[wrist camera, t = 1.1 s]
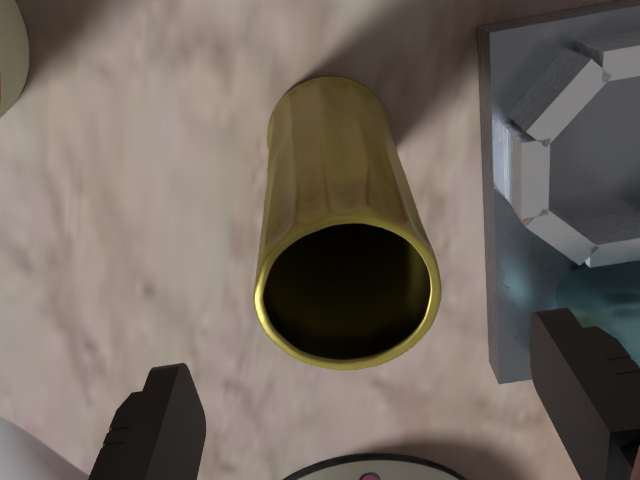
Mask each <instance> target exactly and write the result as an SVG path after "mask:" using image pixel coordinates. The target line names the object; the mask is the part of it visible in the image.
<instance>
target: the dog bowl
mask: <svg viewBox="0 0 640 480" xmlns="http://www.w3.org/2000/svg"><path fill="white" fill-rule="evenodd" d="M284 480H466V479H465V478H464V477H463V476H461V475H460V474H458V473H456V472H455V471H453V470H451V469H449V468H447V467H445V466H443V465H440V464H437V463H434V462H431V461H428V460H425V459H421V458H417V457H412V456H406V455H397V454H359V455H351V456H345V457H340V458H334V459H331V460H327V461H324V462H320V463H317V464H315V465H312V466H310V467H307V468H304V469H302V470H300V471H298V472H296V473H294V474H292V475H291V476H289V477H287V478H286V479H284Z"/></svg>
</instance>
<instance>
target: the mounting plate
mask: <svg viewBox="0 0 640 480" xmlns="http://www.w3.org/2000/svg"><path fill="white" fill-rule="evenodd" d="M477 40H478V68H479V95H480V123H481V150H482V178H483V205H484V233H485V260H486V288H487V316H488V343H489V362H490V365H491V367H492V369H493V372H494V374H495V376H496V379H497V381H498V383H499V384H503V383H510V382H517V381H524V380H531V379H532V375H531V368H530V318H531V314H532V312H536V311H543V310H550V309H556V308H563V307H567V308H569V309H570V311H571V312H572V313H573V315H574V316H575V317H576V319H577V320H578V322H579V323H580V324H581V326H582V327H583V328H586V327H593V326H597V327H599V328H600V329H602V330H604V331H605V332H607V333H608V334H610V335H612V336H613V337H615V338H616V339H618V341H619V342H620V343H621V344H622V346H623V347H624V348H625V350H626V351H627V352H628V353H629V355H630V356H631V359H632V360H634V361H635V362H636V364H637V365H638V366H639V368H640V0H619V1H613V2H608V3H602V4H597V5H591V6H586V7H580V8H574V9H569V10H563V11H558V12H552V13H547V14H541V15H536V16H530V17H525V18H519V19H514V20H508V21H503V22H497V23H492V24H486V25H481V26H477Z"/></svg>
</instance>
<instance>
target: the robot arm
mask: <svg viewBox="0 0 640 480" xmlns="http://www.w3.org/2000/svg"><path fill="white" fill-rule="evenodd" d="M530 368H531V375H532V379H533V383H534V386H535V389H536V391H537V393H538V395H539V397H540V399H541V401H542V403H543V405H544V407H545V409H546V411H547V413H548V415H549V417H550V419H551V421H552V423H553V425H554V427H555V429H556V431H557V433H558V435H559V437H560V439H561V441H562V443H563V445H564V447H565V449H566V451H567V452H568V454H569V456H570V458H571V460H572V462H573V464H574V466H575V468H576V470H577V472H578V474H579V476H580V478H581V480H640V368H639V366H638V365H637V364H636V362H635V361H634V360H632V359H631V356H630V355H629V353H628V352H627V351H626V350H625V348H624V347H623V346H622V344H621V343H620V342H619V341H618V339H616V338H615V337H613V336H612V335H610V334H608V333H607V332H605V331H604V330H602V329H600V328H599V327H597V326H593V327H586V328H583V327H582V326H581V324H580V323H579V322H578V320H577V319H576V317H575V316H574V315H573V313H572V312H571V311H570V309H569V308H567V307H563V308H556V309H550V310H543V311H536V312H532V314H531V318H530ZM205 437H206V420H205V414H204V410H203V407H202V404H201V401H200V399H199V396H198V393H197V390H196V388H195V385H194V382H193V379H192V377H191V374H190V371H189V369H188V367H187V365H186V364H185V363H180V364H173V365H166V366H159V367H153V368H152V369H151V370H150V372H149V374H148V377H147V380H146V382H145V385H144V388H143V391H140V392H133V393H131V394H130V395H129V397H128V398H127V399H126V400H125V401H124V402H123V404H122V405H121V406H120V407H119V408H118V409H117V410H116V413H115V415H114V418H113V420H112V423H111V425H110V428H109V433H107V435H106V437H105V440H104V442H103V448H101V449H100V452H99V454H98V457H97V459H96V462H95V464H94V467H93V469H92V471H91V474H90V476H89V479H88V480H197V475H198V471H199V466H200V461H201V456H202V451H203V447H204V442H205Z"/></svg>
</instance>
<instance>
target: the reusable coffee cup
mask: <svg viewBox="0 0 640 480" xmlns="http://www.w3.org/2000/svg"><path fill="white" fill-rule="evenodd" d="M29 55H30V47H29V41H28V36H27V31H26V26H25V23H24V21H23V18H22V15H21V13H20V10H19V7H18V5H17V3H16V2H15V0H0V118H1V117H2V116H3V115H4V114H5V113H6V112H7V111H8V110H9V109H10V107H11V106H12V105H13V104H14V103H15V102H16V100H17V99H18V98H19V96H20V94H21V92H22V90H23V87H24V85H25V83H26V79H27V75H28V70H29Z"/></svg>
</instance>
